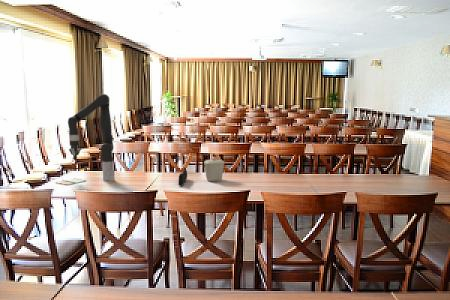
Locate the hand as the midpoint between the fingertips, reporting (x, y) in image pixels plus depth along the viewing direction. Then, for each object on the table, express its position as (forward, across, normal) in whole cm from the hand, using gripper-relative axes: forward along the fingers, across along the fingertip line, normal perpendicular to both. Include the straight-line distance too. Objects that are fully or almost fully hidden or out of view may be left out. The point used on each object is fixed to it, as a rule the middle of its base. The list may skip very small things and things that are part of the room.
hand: (75, 159), depth 352 cm
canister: (+20, -97, -70) cm, 121 cm away
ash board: (+19, -2, +12) cm, 23 cm away
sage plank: (+19, -2, +2) cm, 19 cm away
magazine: (+20, -80, -47) cm, 95 cm away
